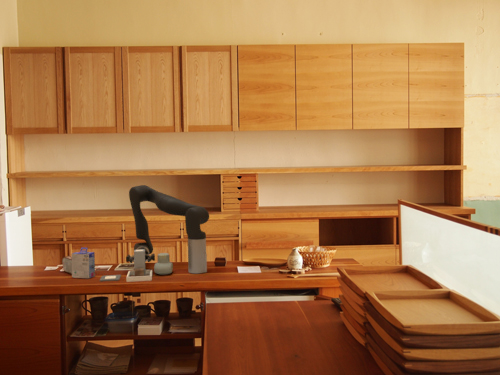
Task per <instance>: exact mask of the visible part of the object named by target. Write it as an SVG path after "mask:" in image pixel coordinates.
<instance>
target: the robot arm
mask: <svg viewBox="0 0 500 375" xmlns="http://www.w3.org/2000/svg"><path fill="white" fill-rule="evenodd" d="M128 192H129V193H128V198H129V203H130V206H131V210H132V215H133V218H134V225H135V236H136V239H138V240H142V241H143V242H136V243H135V244H134V246H133V251H134V250H142V249H145V263H146V262H147V263H150V262H152V261H153V262H154V261H156V257H155V256H156V255H155V253H153V252H154V246H153V244H152V241H151V238H150V233H149V232H150V230H149V223H148V220H147V219H146V216H144V213H143V212H142V210H141V209H142V208H141V203H142V202H143V203H144V202H150V203H153V204H155V206H156V207H157V209H158V210H159V211H161V212H164V213H166V214H168V215H174V216H181V217H185V218H184V219H185V222H184V223H185V232H186V235H187V255H188V256H187V257H188V258H187V262H188V263H187V265H188V266H187V267H188V268H187V269H188V273H189V274H204V273H208V266H207V265H208V262H207V261H208V259H207V258H208V257H207V256H208V255H207V234H206V232H205V231H203V230H202V229H201V225H204V224H206V223H207V222H208V221H209V219H210V213H209V211H208V209H206V208H205V207H204V206H200V205H195V204H192V203H189V202H186V201H184V200H182V199H179V198H176V197H174V196H171V195H169V194H166V193H163V192H160V191H158V190H155V189H154V188H152V187H151V186H148V185H146V184H141V185H136V186H133V187H131V188H130V189H129V191H128ZM144 241H145V242H144ZM125 259H126V260H125V261H126V263H130V264H132V263H134V254H132V255H130V254H127V255H126V257H125Z"/></svg>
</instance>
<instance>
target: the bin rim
mask: <svg viewBox="0 0 500 375" xmlns="http://www.w3.org/2000/svg"><path fill="white" fill-rule="evenodd" d="M145 272H146V275H145V276H135V273H134V270H128V272H127V275H126V278H125V280H126V283H133V282H151V281H152V280H153V269H145Z"/></svg>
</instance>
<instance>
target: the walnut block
mask: <svg viewBox="0 0 500 375" xmlns="http://www.w3.org/2000/svg"><path fill="white" fill-rule="evenodd" d="M134 276H144V268H138V269H135V275H134Z"/></svg>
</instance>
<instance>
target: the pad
mask: <svg viewBox="0 0 500 375" xmlns="http://www.w3.org/2000/svg"><path fill="white" fill-rule="evenodd" d="M121 276H122V274H110V275H109V274H107V275H102V276H101V277H100V279H99V282H113V281H115V282H117V281H120V279H121V278H122V277H121Z"/></svg>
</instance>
